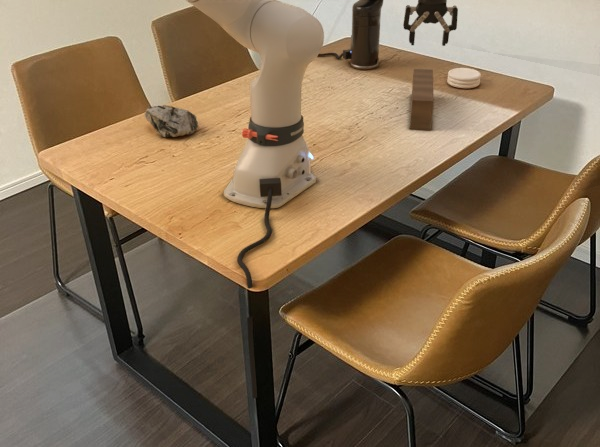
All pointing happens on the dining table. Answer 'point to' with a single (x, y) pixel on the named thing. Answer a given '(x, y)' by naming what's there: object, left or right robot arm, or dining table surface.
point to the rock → (171, 120)
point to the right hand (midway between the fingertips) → (427, 44)
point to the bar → (422, 99)
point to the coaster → (464, 78)
